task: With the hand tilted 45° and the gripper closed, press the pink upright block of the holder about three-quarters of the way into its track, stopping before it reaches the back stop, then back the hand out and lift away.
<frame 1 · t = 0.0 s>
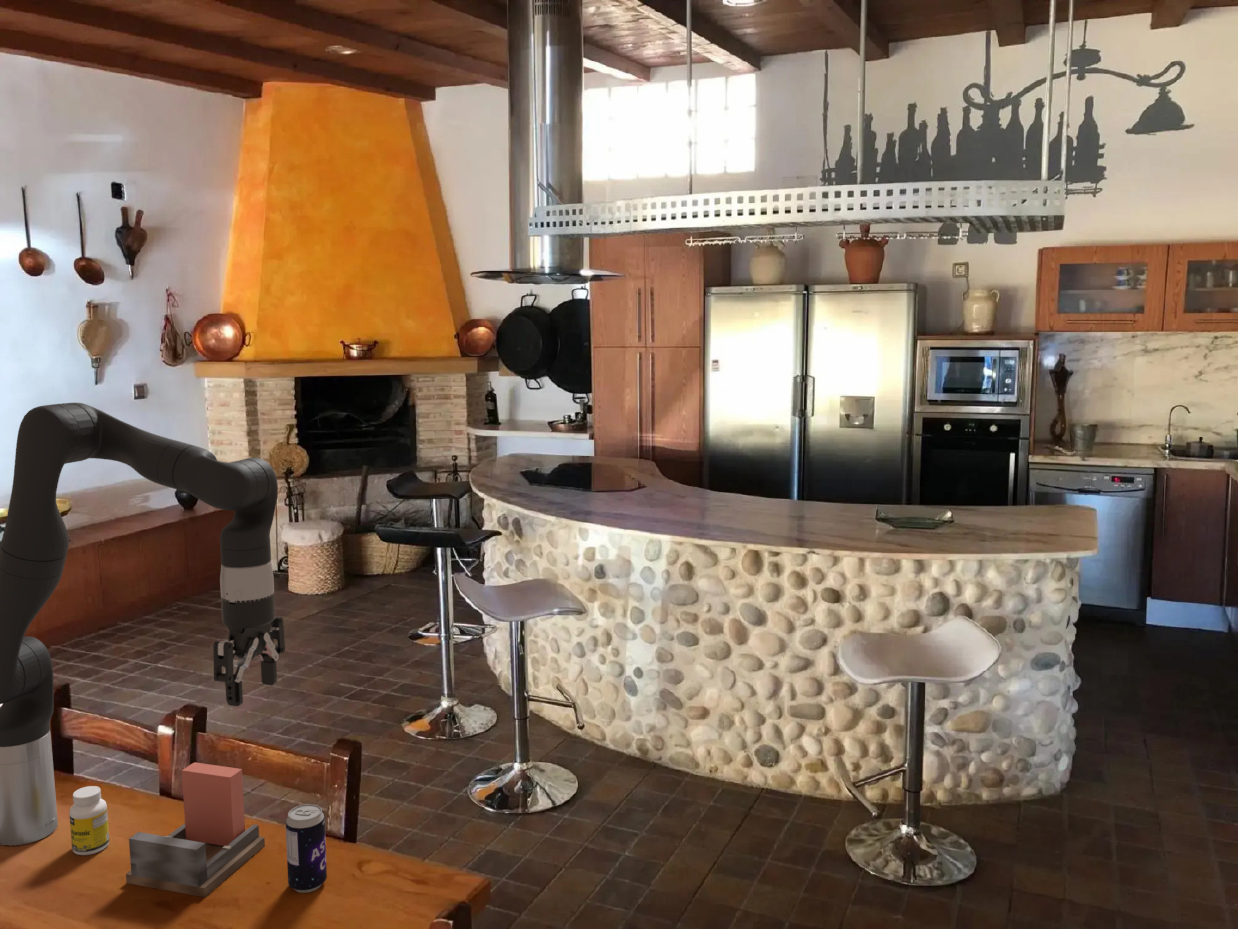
hand: (252, 694, 148), 29 cm above the table, tool pointing down, fingers open, 8 cm apart
pink upright block: (213, 804, 158), point 8 cm above the table, slide at 0.0 cm
holder: (204, 858, 156), on the table
beverage can: (307, 886, 150), on the table
supplement bottle: (91, 848, 159), on the table
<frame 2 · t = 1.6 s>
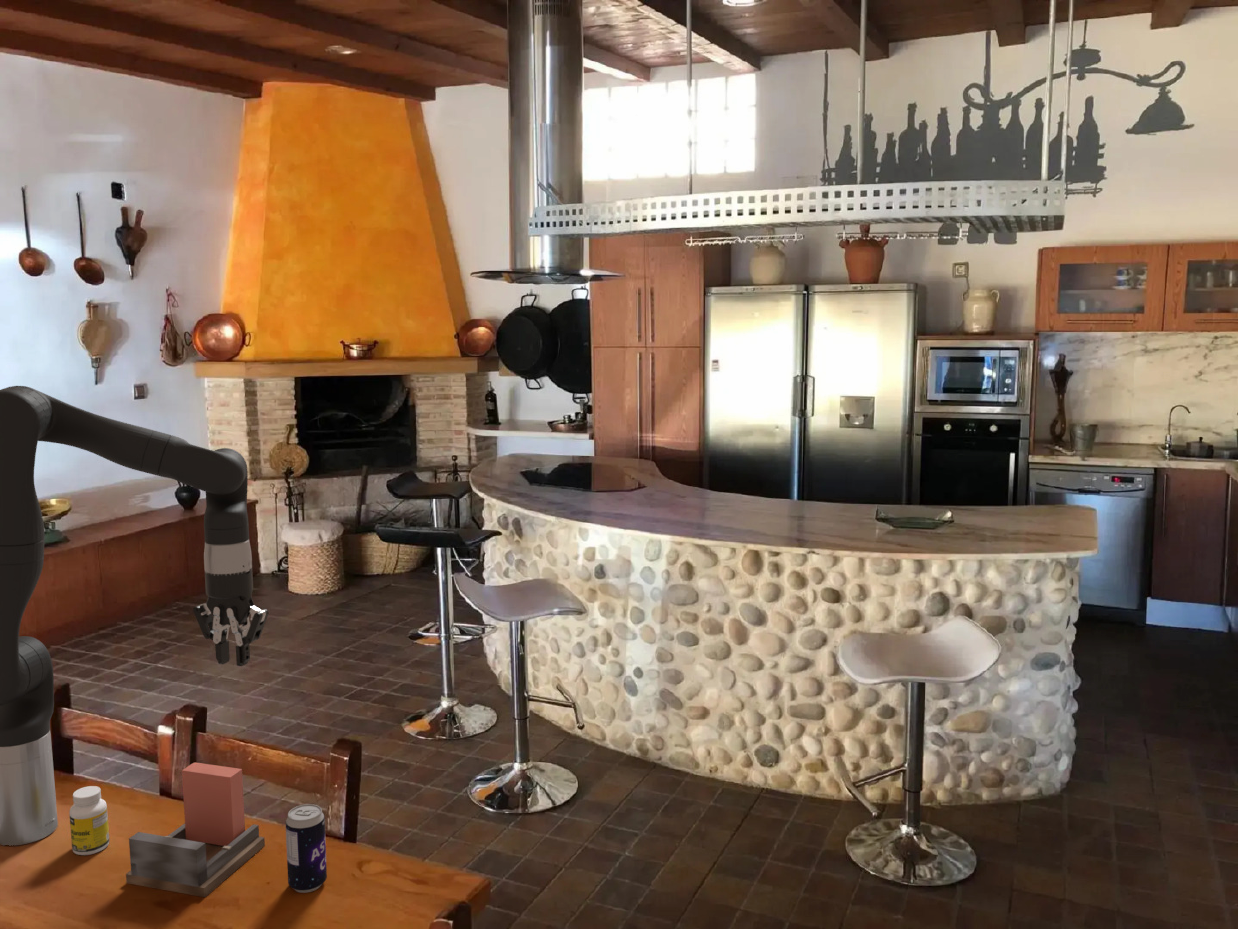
hand: (233, 663, 168), 27 cm above the table, tool pointing down, fingers open, 3 cm apart
nothing on the table moved.
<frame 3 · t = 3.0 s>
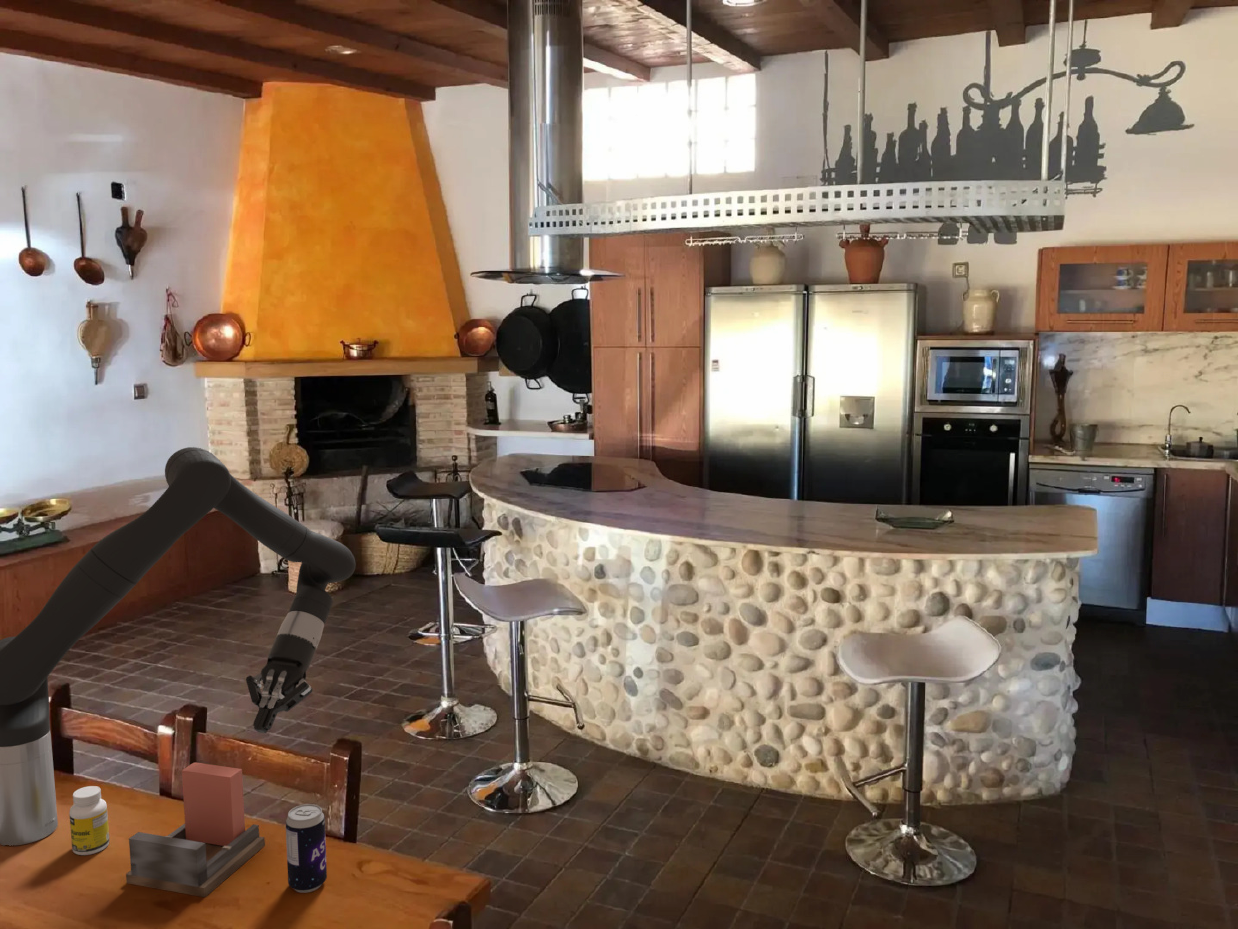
hand: (260, 731, 169), 15 cm above the table, tool tilted 45°, fingers closed
nothing on the table moved.
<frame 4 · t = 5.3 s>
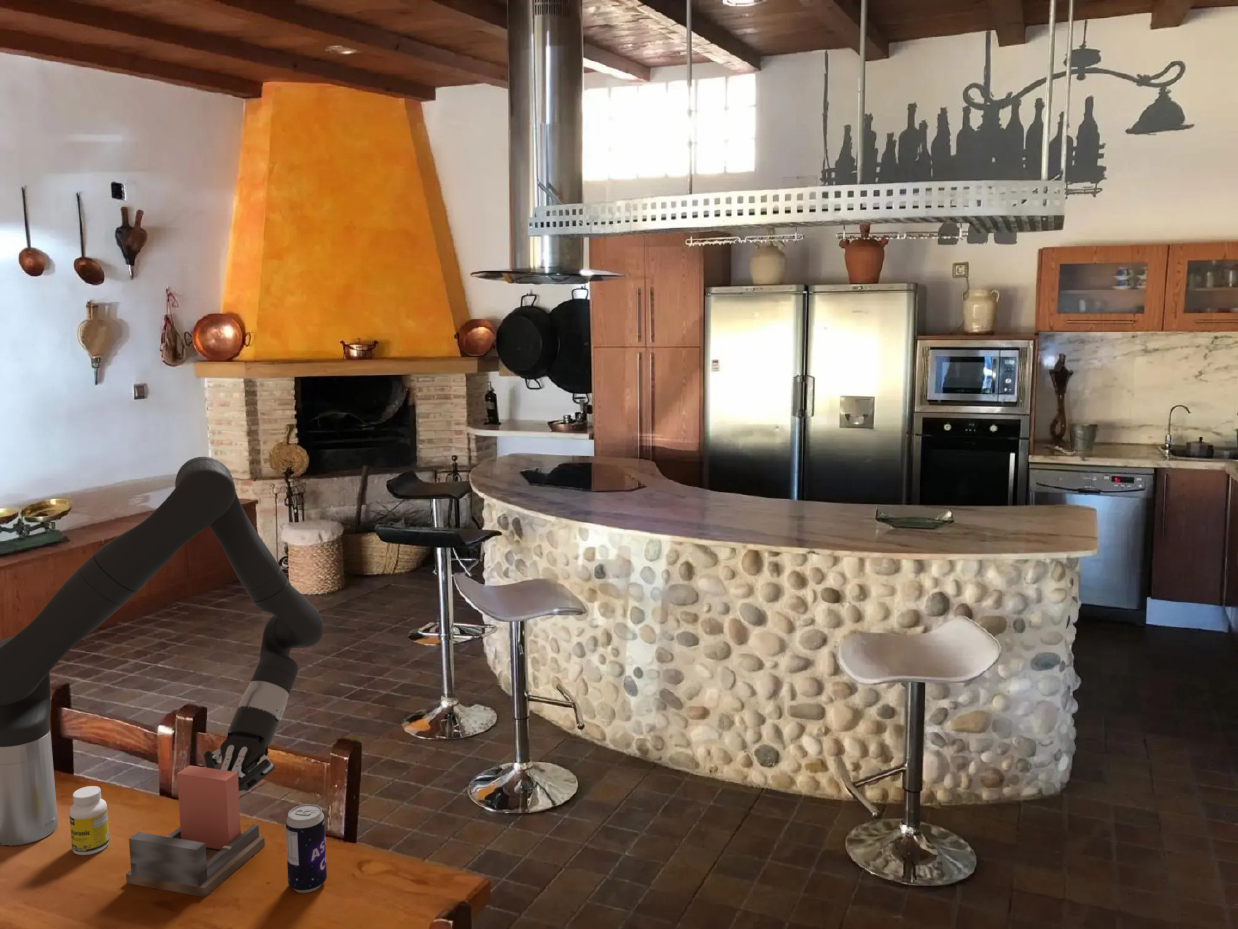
hand: (217, 813, 159), 6 cm above the table, tool tilted 45°, fingers closed
pink upright block: (209, 807, 157), point 8 cm above the table, slide at 1.1 cm, touching gripper
everything else where it was.
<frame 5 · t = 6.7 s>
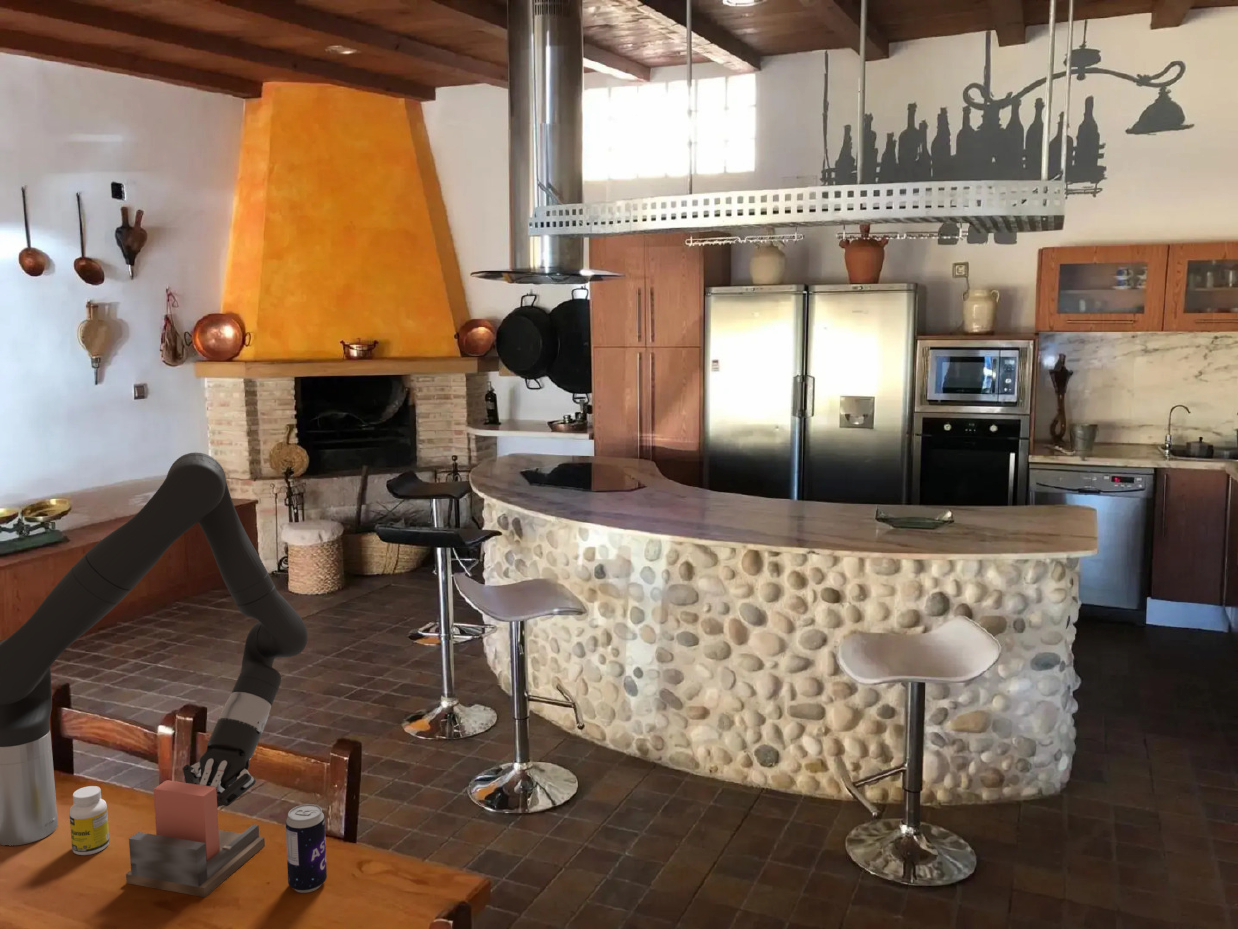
hand: (196, 829, 154), 6 cm above the table, tool tilted 45°, fingers closed
pink upright block: (187, 824, 152), point 8 cm above the table, slide at 6.5 cm, touching gripper
everything else where it was.
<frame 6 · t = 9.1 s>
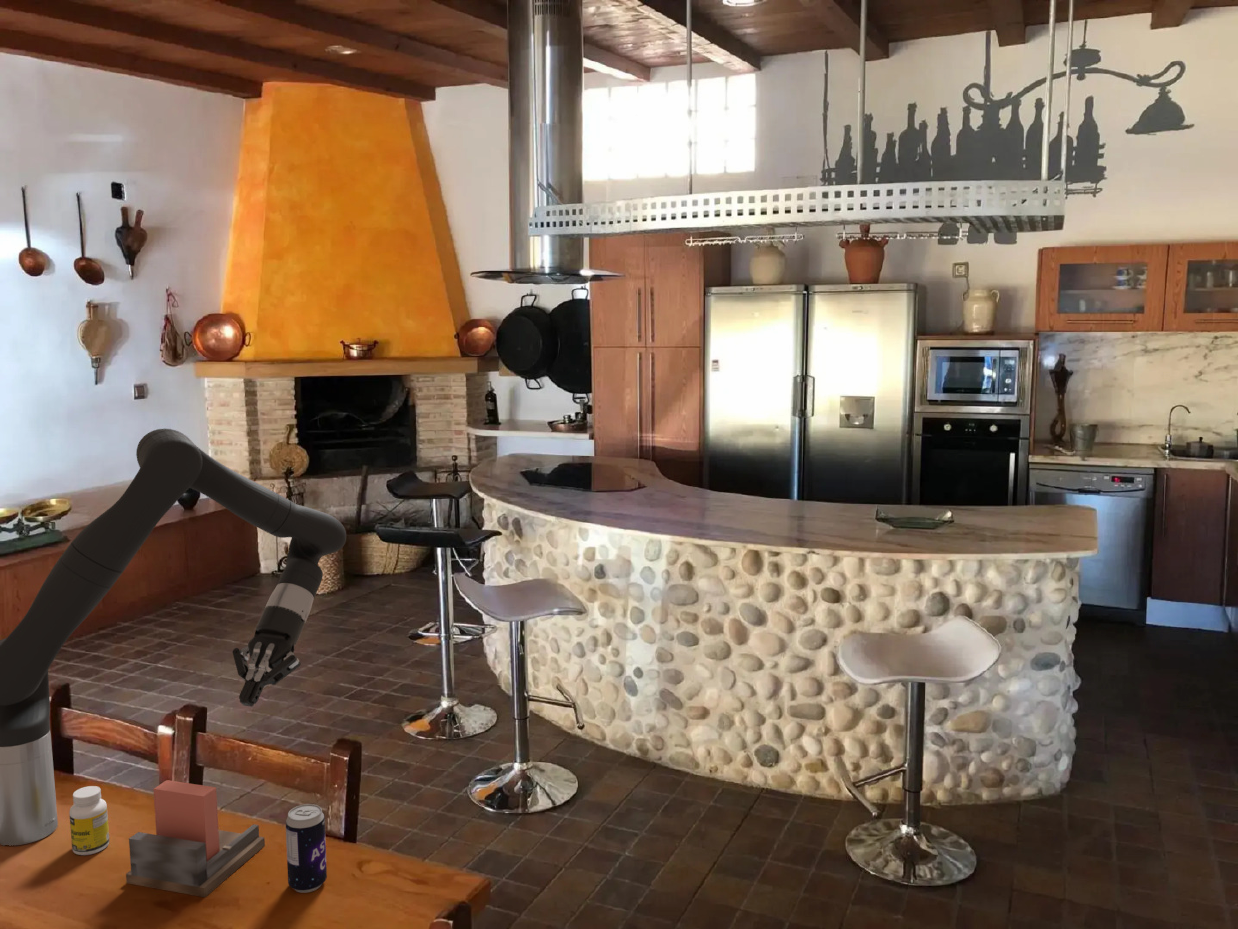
hand: (246, 704, 165), 21 cm above the table, tool tilted 45°, fingers closed
pink upright block: (187, 824, 152), point 8 cm above the table, slide at 6.5 cm
everything else where it was.
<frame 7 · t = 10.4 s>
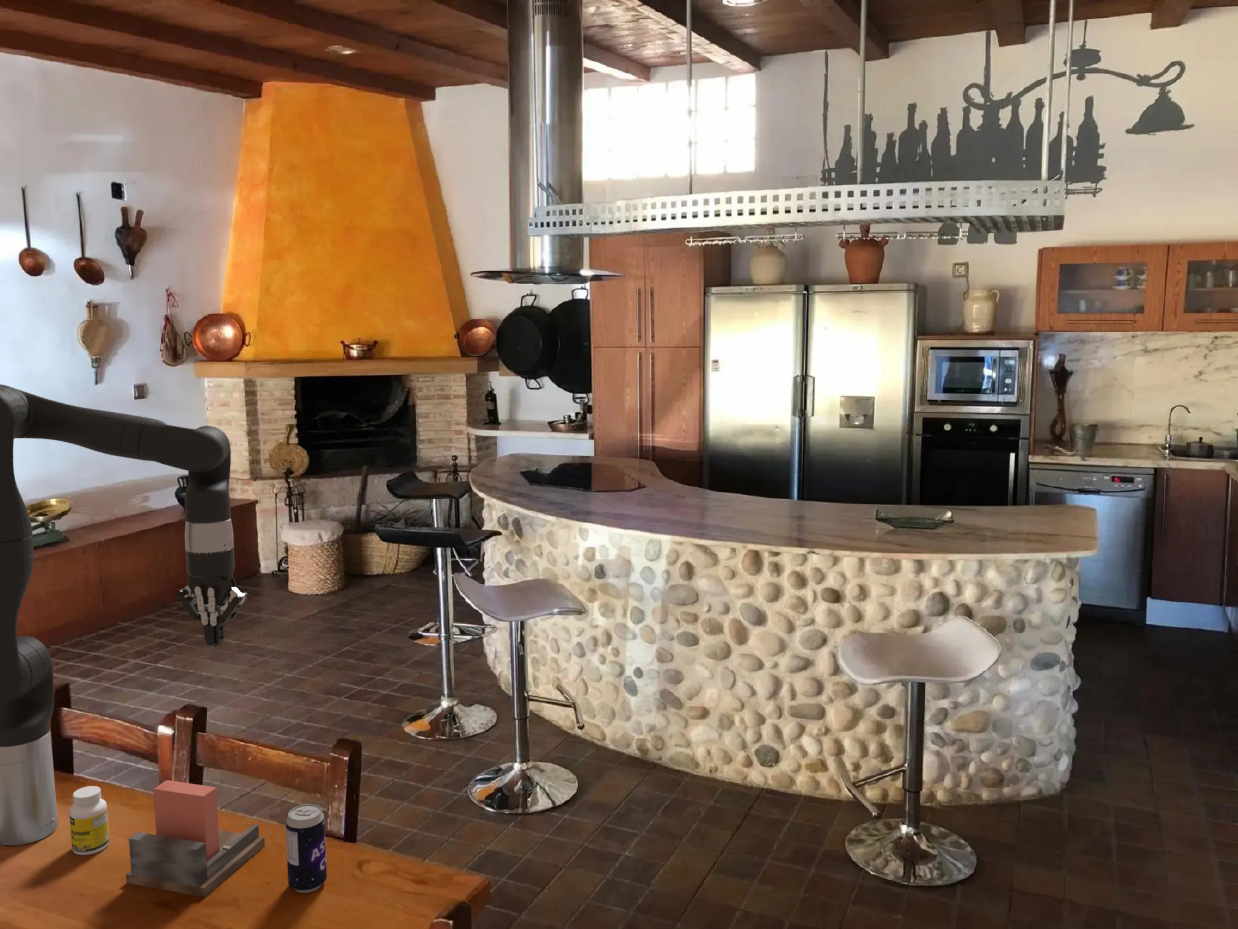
hand: (214, 644, 166), 31 cm above the table, tool pointing down, fingers closed
nothing on the table moved.
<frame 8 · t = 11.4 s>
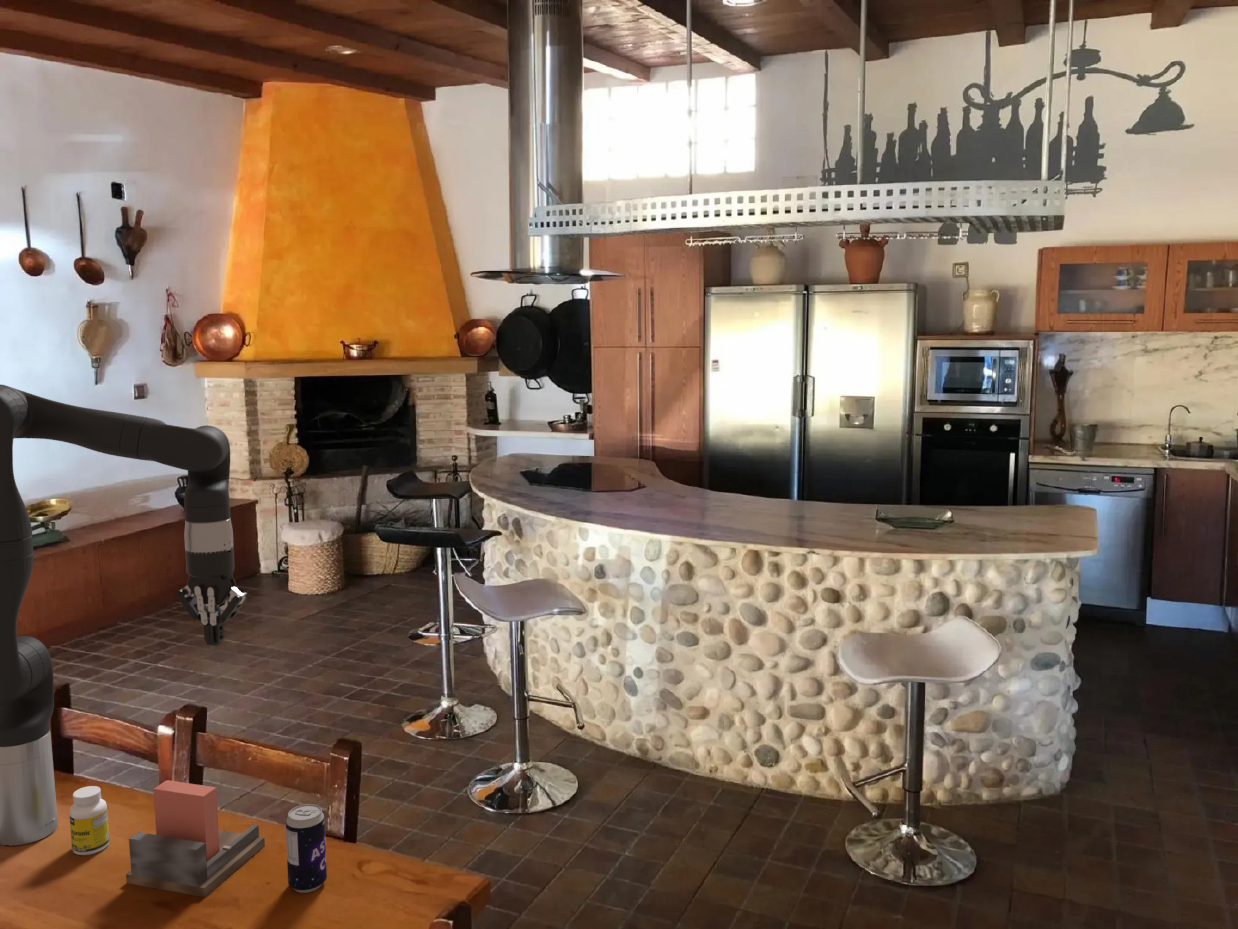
hand: (214, 644, 166), 31 cm above the table, tool pointing down, fingers closed
nothing on the table moved.
at the end: pink upright block slide at 6.5 cm; beverage can moved 0.2 cm from its start; supplement bottle moved 0.2 cm from its start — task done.
